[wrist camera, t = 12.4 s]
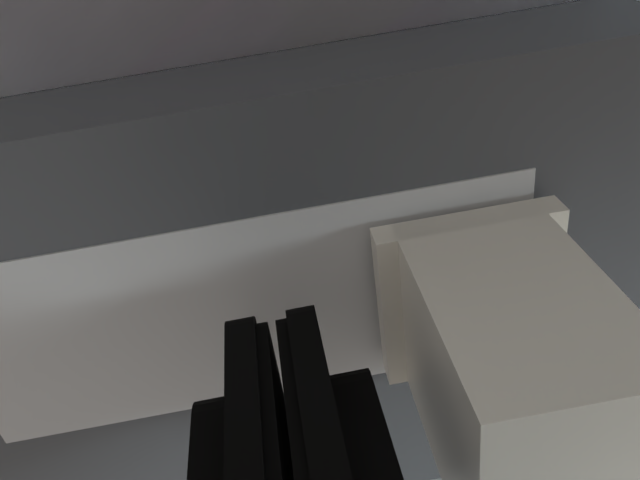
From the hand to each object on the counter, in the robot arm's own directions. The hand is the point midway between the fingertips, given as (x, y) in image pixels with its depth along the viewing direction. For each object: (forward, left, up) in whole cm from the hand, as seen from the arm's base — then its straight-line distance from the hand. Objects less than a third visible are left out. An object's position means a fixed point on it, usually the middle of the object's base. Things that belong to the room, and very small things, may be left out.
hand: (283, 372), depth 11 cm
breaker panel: (+9, -1, -5) cm, 10 cm away
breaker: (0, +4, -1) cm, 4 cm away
